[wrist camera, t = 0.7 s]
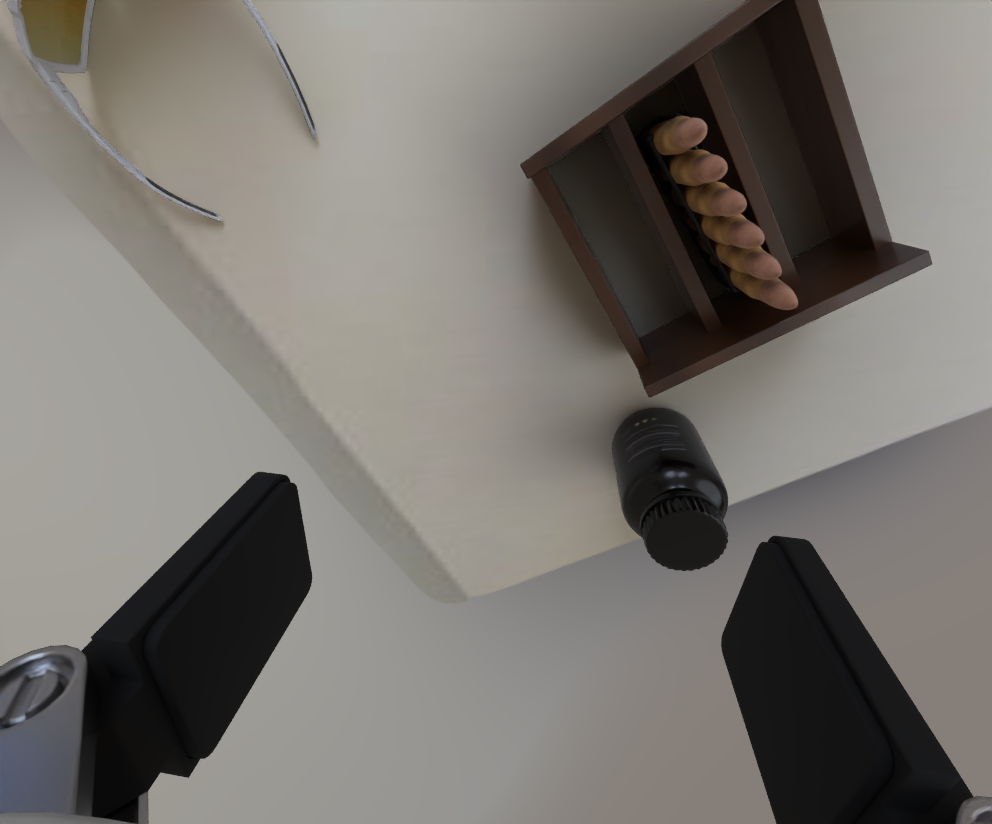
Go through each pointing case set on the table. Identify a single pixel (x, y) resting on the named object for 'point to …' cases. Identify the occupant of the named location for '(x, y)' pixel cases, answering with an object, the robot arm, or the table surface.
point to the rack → (831, 165)
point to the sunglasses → (64, 48)
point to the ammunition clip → (712, 209)
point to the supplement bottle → (670, 489)
